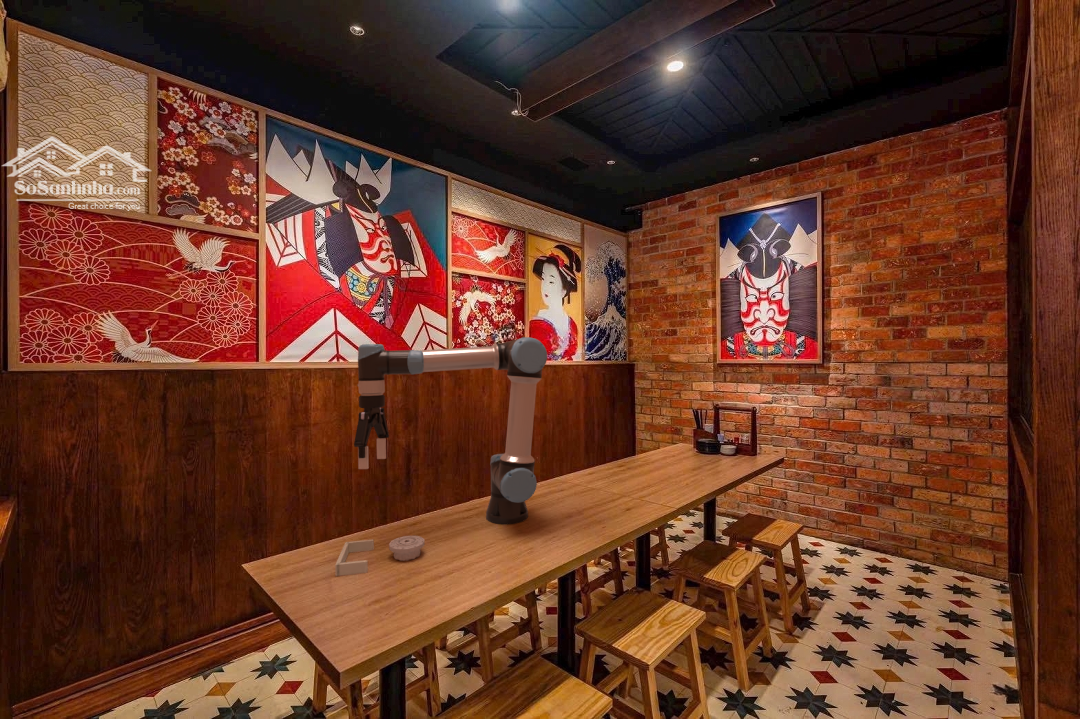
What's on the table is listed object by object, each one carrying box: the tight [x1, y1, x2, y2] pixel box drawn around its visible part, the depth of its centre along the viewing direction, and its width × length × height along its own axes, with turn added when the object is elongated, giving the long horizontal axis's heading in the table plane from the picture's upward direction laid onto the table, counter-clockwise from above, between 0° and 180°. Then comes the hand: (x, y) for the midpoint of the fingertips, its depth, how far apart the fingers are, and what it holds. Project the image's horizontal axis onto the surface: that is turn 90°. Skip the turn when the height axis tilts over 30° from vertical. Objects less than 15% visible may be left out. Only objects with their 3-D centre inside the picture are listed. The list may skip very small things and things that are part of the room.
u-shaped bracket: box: [334, 538, 375, 577], centre depth 131 cm, size 8×16×3 cm, turn 14°
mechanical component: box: [388, 535, 425, 562], centre depth 134 cm, size 10×4×10 cm
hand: (373, 463), depth 141 cm, fingers open, 13 cm apart
